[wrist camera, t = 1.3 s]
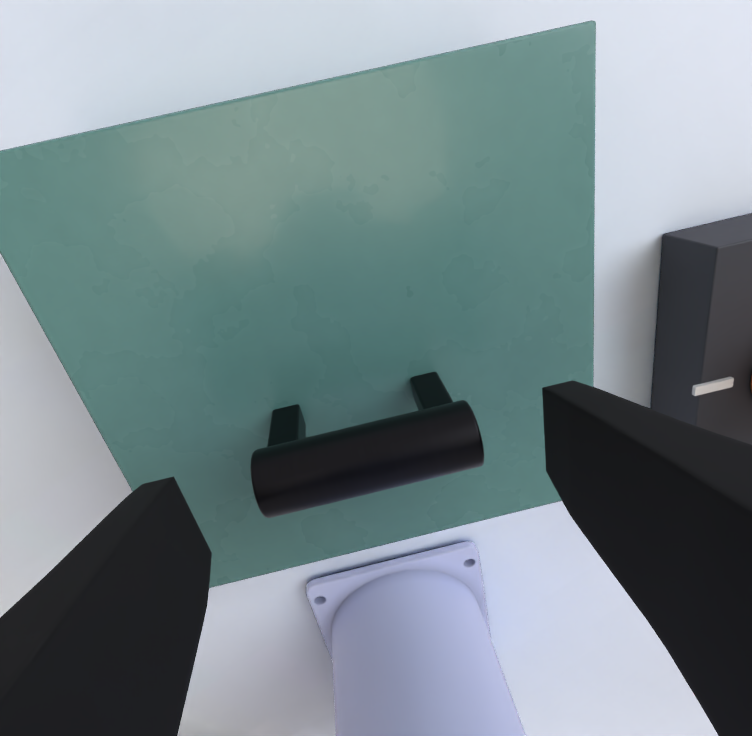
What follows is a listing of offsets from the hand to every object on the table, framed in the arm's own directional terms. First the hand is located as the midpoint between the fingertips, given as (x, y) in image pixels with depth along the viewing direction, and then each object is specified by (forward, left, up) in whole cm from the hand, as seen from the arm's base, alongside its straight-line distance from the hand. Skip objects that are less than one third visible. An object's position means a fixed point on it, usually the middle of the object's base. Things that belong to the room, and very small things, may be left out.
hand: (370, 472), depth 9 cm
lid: (+1, 0, -4) cm, 4 cm away
